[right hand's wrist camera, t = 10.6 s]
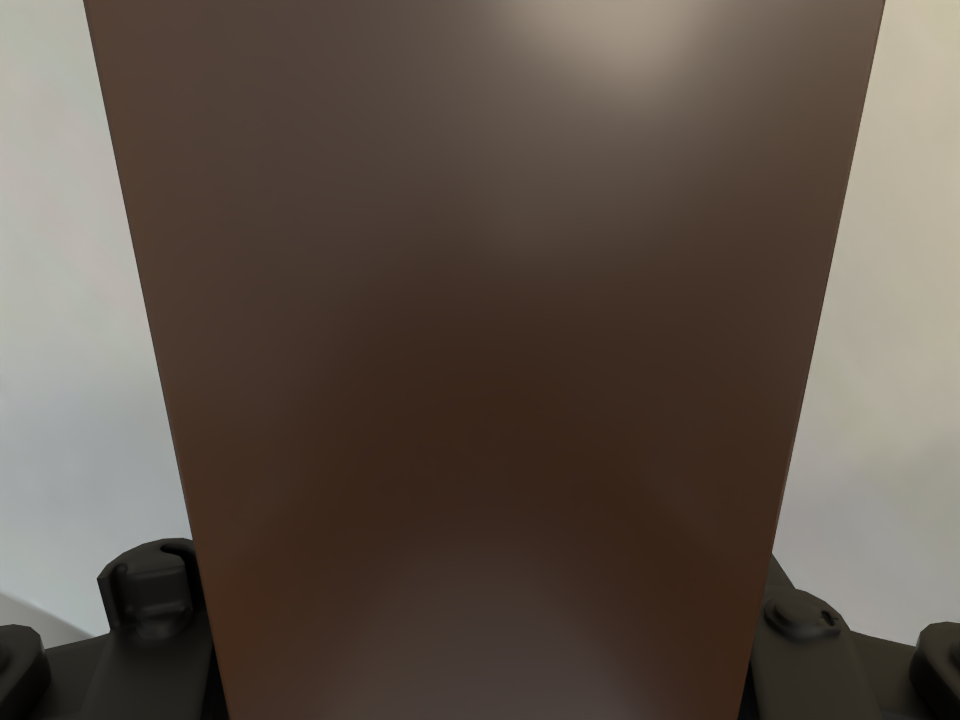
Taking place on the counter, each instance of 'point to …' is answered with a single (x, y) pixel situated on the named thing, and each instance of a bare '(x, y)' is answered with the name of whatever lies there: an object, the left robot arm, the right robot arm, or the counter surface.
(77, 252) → the counter surface
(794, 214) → the walnut beam
